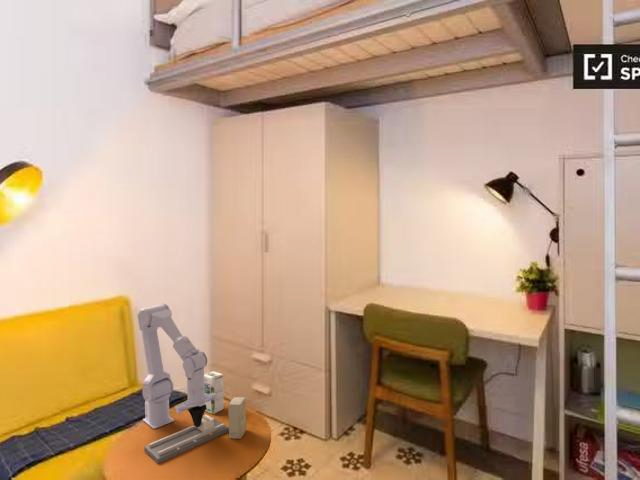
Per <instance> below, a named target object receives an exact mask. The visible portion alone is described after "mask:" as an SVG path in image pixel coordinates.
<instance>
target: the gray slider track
mask: <svg viewBox="0 0 640 480" xmlns="http://www.w3.org/2000/svg"><path fill="white" fill-rule="evenodd" d="M211 418H213V419H214V428H211V429H209V430H207V431H204V432H202V431H200V430H199V429H197V427H196V426H194V424H193V425H191V426H188V427H187V428H183V429H181V430H180V431H177V432H174V433H172V434H170V435H167V436H165V437H162V438H160V439H157V440H155V441H153V442H151V443H149V444H148V445H145V446H144V448H143V449H144V452H145V453H146V454H147V455H148V456H149V457H150V458H152V460H154V461H155V462H156V464H160V463H163V462H165V461H167V460H169V459H172V458H174V457H176V456H178V455H180V454H182V453H184V452H186V450H187V451H189V450H190V449H193V448H195V447H197V446H200V445H202V444H204V443H206V442H209V441H211V440H212V439H215V438H217V437H219V436H222V435H223V434H225V433H226V434H227V433H229V425H226V424H225V423H223V422H222V421H220V420H218V419H217V418H215V417H214V416H213V417H211ZM188 449H189V450H188Z"/></svg>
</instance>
